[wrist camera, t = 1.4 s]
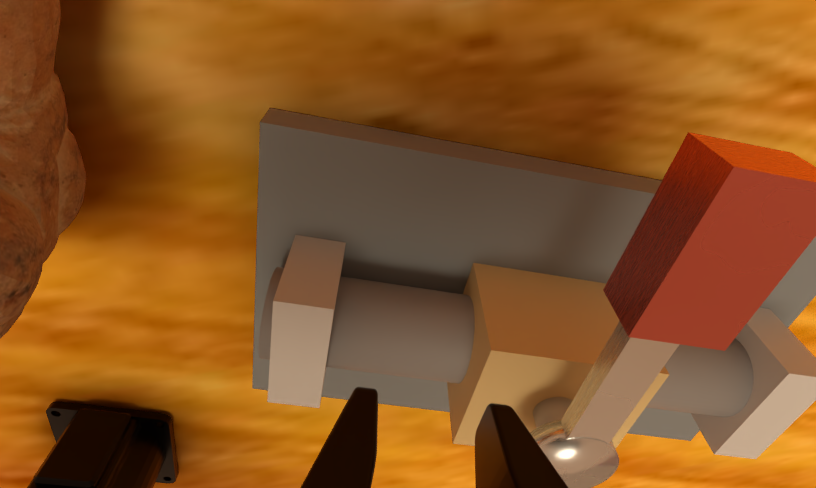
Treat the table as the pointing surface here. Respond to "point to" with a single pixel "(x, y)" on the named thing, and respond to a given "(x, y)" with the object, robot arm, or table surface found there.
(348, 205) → the valve board
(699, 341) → the lever
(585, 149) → the table surface
